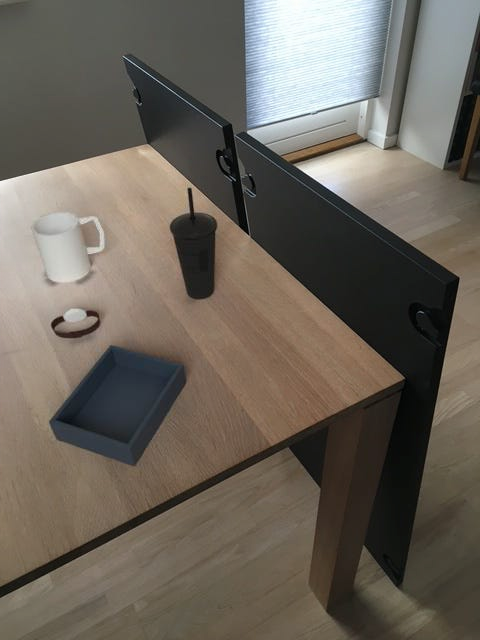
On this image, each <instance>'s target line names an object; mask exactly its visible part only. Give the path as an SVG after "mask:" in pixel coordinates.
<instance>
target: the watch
mask: <svg viewBox="0 0 480 640" xmlns="http://www.w3.org/2000/svg"><path fill="white" fill-rule="evenodd" d="M88 317H93V318H97V320H96V322H95V323H93V324H92V325H91V326H89V327H87V328H83V329H80V330H75V331H69V332H62V331H57V330H56V328H57V327H58V325H60V324H62V323H64V322H68V323H78V322H81V321H84V319H85V318H88ZM100 326H101V317H100V314H99V313H98V311H95V310H92V309H91V310H89V309H88V310H87V309H86V310H84V309H81V308H76V307H75V308H70V309H68V310H67V311H66V312H64V314H62V315H59V316H57V317H55V318H53V320H52V321H51V323H50V327H51V329H52V331H53V333H54V334H55V335H56V336H57V337H58V338H61V339H78V338H82V337H83V336H87V335H90V334H92V333H93V332H95V331H97V329H98V328H99V327H100Z"/></svg>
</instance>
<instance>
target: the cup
mask: <svg viewBox="0 0 480 640" xmlns="http://www.w3.org/2000/svg"><path fill="white" fill-rule="evenodd" d="M90 221H93V222H94V225H95V226H96V228H97V231H98V232H99V233H98V234H99V246H87V245H86V241H85V238H84V235H83V230H82V227H81V225H84V224H86V223H88V222H90ZM30 230H31V233H32V235H33V239H34V241H35V244H36V246H37V250H38V253H39V256H40V259H41V261H42V264H43V267H44V270H45V273H46V275H47V277H48V279H49V280H51V281H53V282H56V283H62V284H63V283H72V282H75V281H78V280H81V279H82V278H84V277H85V276H86V275H87V274H88V273H89V272H90V271H91V268H92V263H91V260H90V256H89V255H92V254H97V253H102V251H103V250H104V249H105V231H104V229H103V226H102V225H101V222H100V220H99V218H98V216H95V215H89V216H83V217H78V216H77V215H76V214H75V213H73V212H70V211H53V212H49V213H46V214H44V215H41V216H40V217H38V218H36V219H35V220H34V221H33V222H32V224H31V226H30Z"/></svg>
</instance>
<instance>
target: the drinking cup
mask: <svg viewBox="0 0 480 640" xmlns="http://www.w3.org/2000/svg"><path fill="white" fill-rule="evenodd" d="M186 191H187V198H188V207H189V212H188V213H183V214H180V215H178V216H176V217H175V218H174V219H172V221H171V222H170V224H169V231H170V233H171V235H172V238H173V242H174V245H175V249H176V253H177V258H178V261H179V262H178V263H179V266H180V269H181V270H180V271H181V274H182V277H183V282H184V286H185V290H186V294H187V296H188V297H189V298H191V299H193V300H206V299H208V298H210V297H211V296H212V295H213V294H214V292H215V274H216V273H215V271H216V270H215V269H216V236H217V235H216V233H217V229H218V221H217V220H216V218H215V217H214V216H212V215H211V214H208V213H205V212H196V211H195V206H194V197H193V196H194V195H193V189H192V187H187V188H186Z"/></svg>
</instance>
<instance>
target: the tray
mask: <svg viewBox="0 0 480 640" xmlns="http://www.w3.org/2000/svg"><path fill="white" fill-rule="evenodd" d="M184 365H185V364H182V363H179V362H176V361H172V360H167V359H164V358H160V357H157V356H154V355H153V356H152V355H149V354H146V353H142V352H138V351H134V350H131V349H127V348H124V347H120V346H116V345H113V344H110V345H109V346H108V348H106V349H105V351H104V352H103V353H102V355H101V356H100V357H99V358H98V359H97V361H96V362H95V363H94V365H93V366H92V367H91V368H90V369H89V371H88V372H87V373H86V375H85V376H84V377H83V379H81V381H80V382H79V383H78V385H77V386H76V387H75V388H74V389H73V390H72V392H71V393H70V394H69V396H68V397H67V398H66V400H65V401H64V402H63V403H62V405H61V406H60V407H59V408H58V409H57V411H56V412H55V413H54V414H53V416H52V417H51V419H49V421H48V424H49V426H50V428H51V430H52V432H53V435H54V437H55V440H57V441H60V442H63V443H65V444H68V445H71V446H73V447H77V448H80V449H82V450H85V451H88V452H91V453H94V454H97V455H99V456H103V457H105V458H109V459H112V460H114V461H117V462H120V463H124V464H126V465H129V466H132V467H136V465H137V464H138V462H139V460H140V459H141V457H142V456H143V454H144V452H145V451H146V449H147V448H148V446H149V445H150V443H151V441H152V439H153V437H154V436H155V434H156V433H157V431H158V430H159V428H160V427H161V425H162V423H163V422H164V420H165V418H166V417H167V415H168V413H170V410H171V409H172V407H173V405H174V404H175V401H176V400H177V399H178V397H179V396H180V394H181V392H182V391H183V389H184V387H185V386H186V384H187V379H186V372H185V366H184Z"/></svg>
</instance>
